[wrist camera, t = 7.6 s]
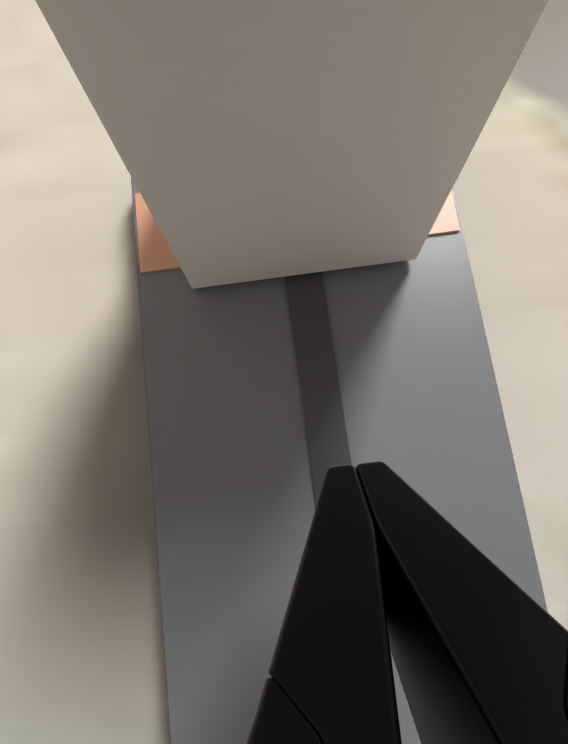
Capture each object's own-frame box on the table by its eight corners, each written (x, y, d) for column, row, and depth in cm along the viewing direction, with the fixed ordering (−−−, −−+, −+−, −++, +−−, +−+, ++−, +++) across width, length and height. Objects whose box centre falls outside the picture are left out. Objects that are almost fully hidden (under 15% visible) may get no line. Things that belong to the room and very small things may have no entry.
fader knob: (425, 268, 14) (761, -316, 4) (185, 300, 14) (-119, -198, 4) (395, 119, 15) (597, -656, 5) (171, 148, 15) (-98, -563, 5)
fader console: (583, 889, 12) (624, 948, 11) (202, 939, 12) (188, 1006, 11) (424, 145, 16) (436, 110, 15) (144, 182, 16) (128, 151, 15)
